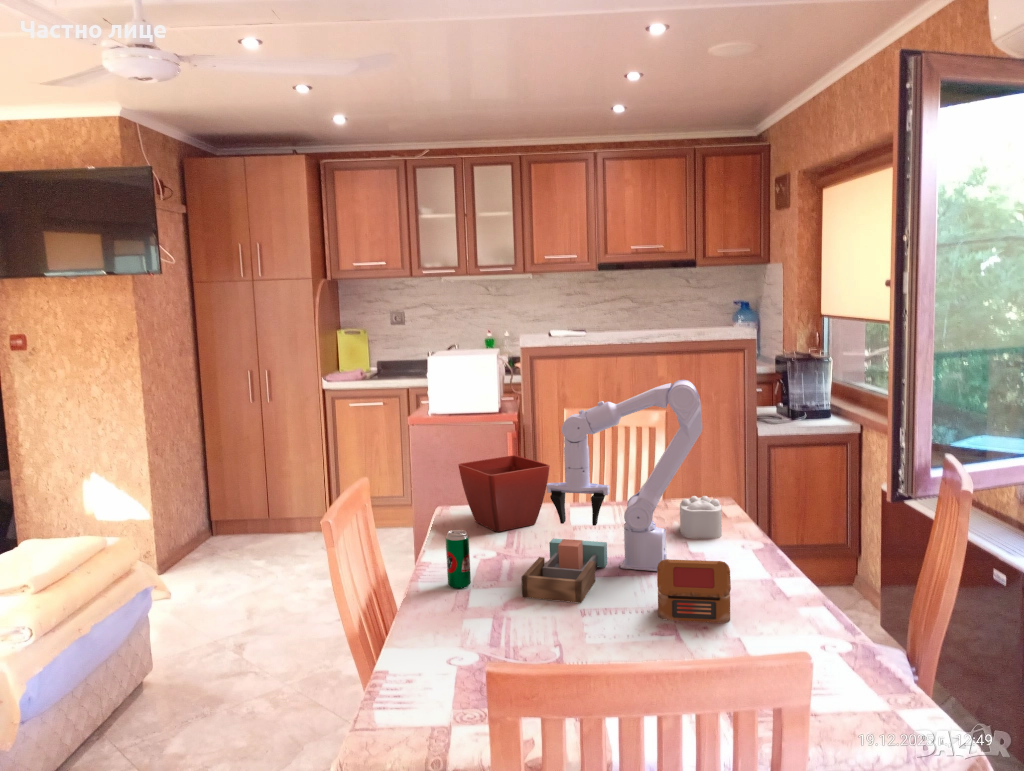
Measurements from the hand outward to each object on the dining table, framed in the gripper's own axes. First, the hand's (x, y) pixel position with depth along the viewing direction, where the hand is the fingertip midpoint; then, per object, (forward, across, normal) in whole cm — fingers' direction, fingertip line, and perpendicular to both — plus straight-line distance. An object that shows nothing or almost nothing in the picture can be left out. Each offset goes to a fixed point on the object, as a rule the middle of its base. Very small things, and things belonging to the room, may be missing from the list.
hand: (578, 523), depth 179 cm
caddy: (+9, 0, +16) cm, 19 cm away
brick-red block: (+8, 0, +8) cm, 11 cm away
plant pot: (+10, +28, -26) cm, 39 cm away
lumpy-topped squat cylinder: (+10, -25, -30) cm, 40 cm away
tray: (+9, 0, +7) cm, 11 cm away
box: (+10, -28, +24) cm, 38 cm away
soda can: (+10, +22, +20) cm, 32 cm away
